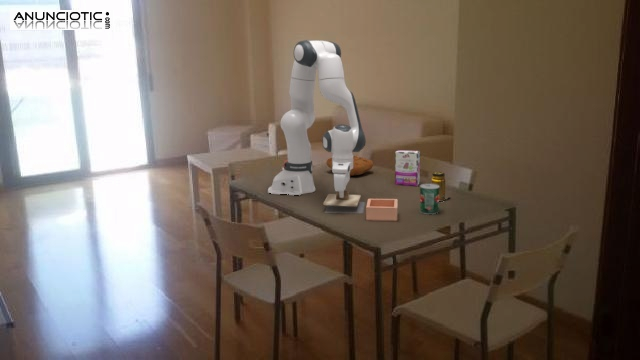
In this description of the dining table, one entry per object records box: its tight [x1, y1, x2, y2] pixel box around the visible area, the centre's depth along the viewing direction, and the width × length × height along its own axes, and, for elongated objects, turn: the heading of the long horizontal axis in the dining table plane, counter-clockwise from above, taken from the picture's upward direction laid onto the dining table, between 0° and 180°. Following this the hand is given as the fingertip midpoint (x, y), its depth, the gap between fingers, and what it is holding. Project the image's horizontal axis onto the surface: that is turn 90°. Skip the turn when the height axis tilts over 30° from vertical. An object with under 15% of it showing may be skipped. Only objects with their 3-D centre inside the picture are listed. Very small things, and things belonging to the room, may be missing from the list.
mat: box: [324, 201, 366, 214], centre depth 255 cm, size 16×16×1 cm
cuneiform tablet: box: [326, 155, 374, 176], centre depth 315 cm, size 22×17×8 cm
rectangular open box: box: [365, 198, 399, 222], centre depth 242 cm, size 12×12×6 cm
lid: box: [322, 189, 362, 207], centre depth 254 cm, size 14×14×4 cm
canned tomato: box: [419, 183, 440, 215], centre depth 247 cm, size 8×8×11 cm
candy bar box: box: [394, 149, 421, 187], centre depth 289 cm, size 11×5×16 cm, turn 68°
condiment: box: [430, 171, 446, 201], centre depth 264 cm, size 7×8×12 cm
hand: (342, 196), depth 254 cm, fingers closed on lid, 2 cm apart
